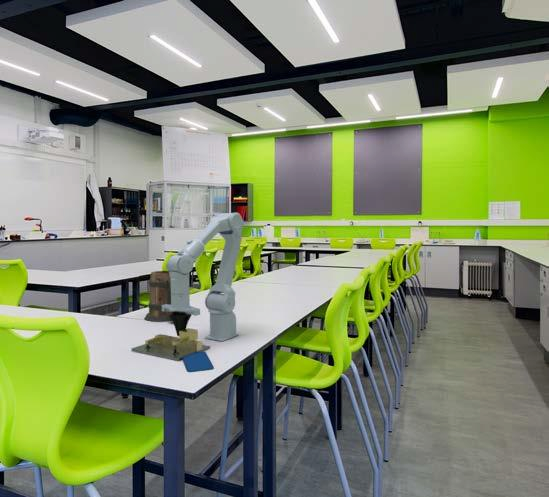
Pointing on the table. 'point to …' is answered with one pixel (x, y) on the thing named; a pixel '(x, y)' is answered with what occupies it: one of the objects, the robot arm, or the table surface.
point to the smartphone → (197, 362)
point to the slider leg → (185, 337)
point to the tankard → (159, 296)
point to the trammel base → (169, 347)
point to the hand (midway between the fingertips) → (180, 335)
